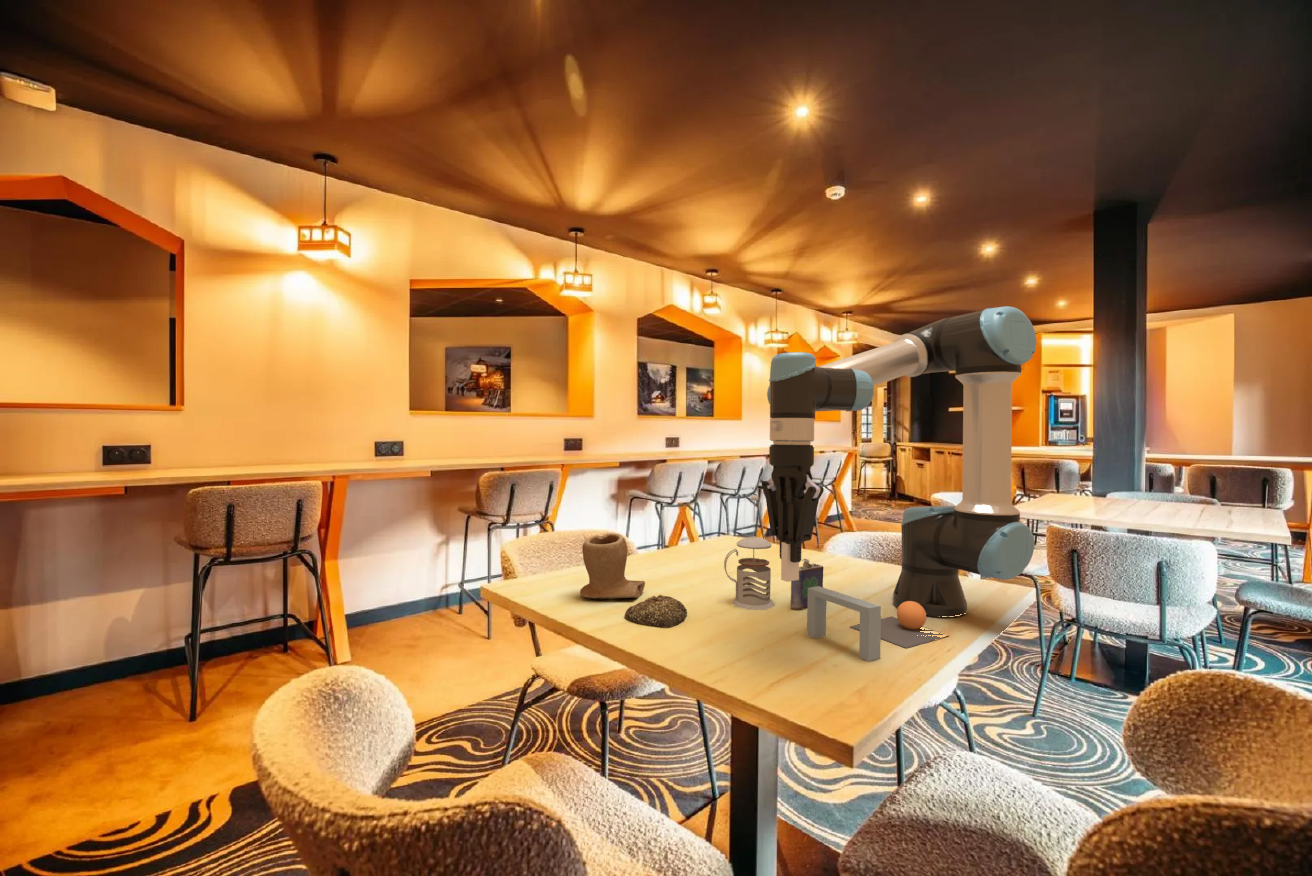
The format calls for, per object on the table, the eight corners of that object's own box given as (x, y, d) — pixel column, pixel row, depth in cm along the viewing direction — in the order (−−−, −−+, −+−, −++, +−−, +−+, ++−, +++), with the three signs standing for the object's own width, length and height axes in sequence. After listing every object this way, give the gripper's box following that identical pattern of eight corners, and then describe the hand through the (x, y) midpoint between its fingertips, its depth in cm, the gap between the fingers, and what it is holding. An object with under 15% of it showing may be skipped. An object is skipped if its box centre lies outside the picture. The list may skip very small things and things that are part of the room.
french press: (778, 610, 126) (780, 497, 126) (726, 609, 126) (727, 497, 126) (770, 597, 136) (771, 493, 135) (721, 596, 136) (723, 492, 135)
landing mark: (891, 617, 121) (891, 616, 121) (949, 636, 110) (949, 635, 110) (849, 627, 115) (849, 626, 115) (906, 648, 104) (906, 647, 104)
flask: (796, 611, 125) (796, 562, 125) (786, 607, 128) (787, 560, 128) (825, 605, 130) (826, 558, 130) (816, 601, 132) (816, 556, 132)
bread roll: (666, 633, 112) (666, 607, 112) (617, 621, 119) (617, 597, 119) (698, 616, 122) (698, 593, 122) (651, 605, 129) (651, 584, 129)
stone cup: (575, 604, 129) (576, 538, 128) (584, 590, 140) (584, 529, 140) (642, 606, 128) (642, 539, 128) (645, 591, 140) (645, 530, 140)
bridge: (818, 632, 112) (818, 586, 112) (880, 658, 99) (881, 605, 99) (807, 635, 110) (807, 588, 110) (868, 661, 98) (869, 608, 97)
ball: (906, 624, 118) (909, 597, 118) (931, 632, 113) (933, 604, 114) (889, 625, 115) (891, 598, 116) (913, 633, 110) (916, 605, 111)
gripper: (750, 442, 102) (748, 574, 102) (802, 444, 90) (801, 592, 90) (781, 442, 105) (780, 569, 105) (836, 444, 94) (834, 586, 94)
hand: (790, 579), depth 98 cm, fingers closed
